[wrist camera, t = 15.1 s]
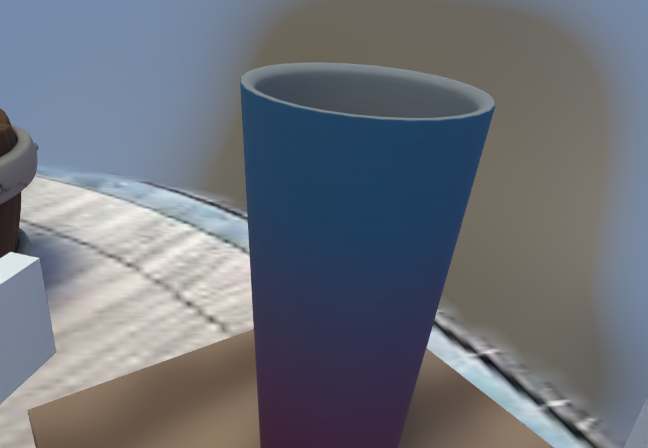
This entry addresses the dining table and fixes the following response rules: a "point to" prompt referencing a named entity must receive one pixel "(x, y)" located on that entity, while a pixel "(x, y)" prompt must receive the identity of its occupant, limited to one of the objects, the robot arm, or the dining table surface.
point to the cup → (351, 239)
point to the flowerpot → (14, 183)
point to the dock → (253, 408)
